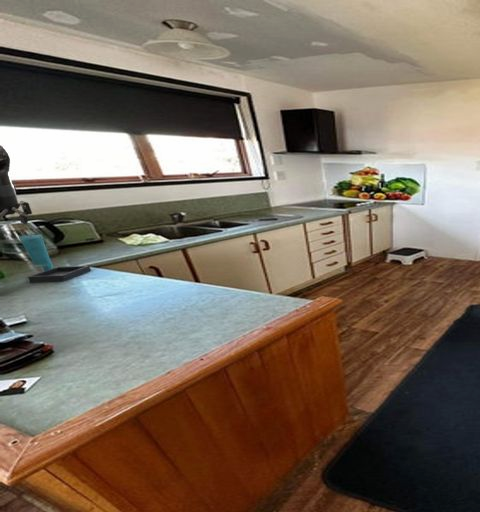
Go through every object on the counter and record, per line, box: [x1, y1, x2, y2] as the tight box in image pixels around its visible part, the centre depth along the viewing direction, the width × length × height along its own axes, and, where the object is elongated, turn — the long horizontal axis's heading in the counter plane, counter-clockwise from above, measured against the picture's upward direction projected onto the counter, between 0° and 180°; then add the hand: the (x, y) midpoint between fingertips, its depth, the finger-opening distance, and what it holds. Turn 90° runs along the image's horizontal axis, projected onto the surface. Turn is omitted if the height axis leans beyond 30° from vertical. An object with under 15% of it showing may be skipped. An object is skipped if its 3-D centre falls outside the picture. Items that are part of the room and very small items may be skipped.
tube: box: [18, 233, 54, 274], centre depth 128 cm, size 7×5×19 cm, turn 123°
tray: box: [27, 265, 92, 283], centre depth 128 cm, size 15×13×3 cm
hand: (11, 226), depth 122 cm, fingers open, 8 cm apart
